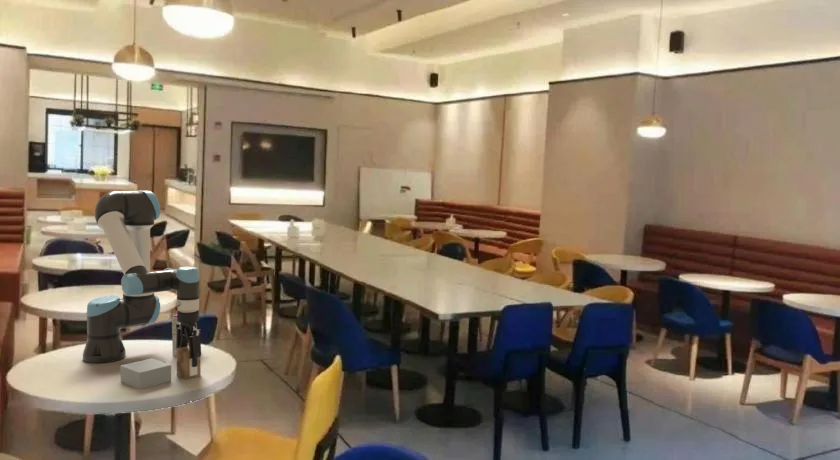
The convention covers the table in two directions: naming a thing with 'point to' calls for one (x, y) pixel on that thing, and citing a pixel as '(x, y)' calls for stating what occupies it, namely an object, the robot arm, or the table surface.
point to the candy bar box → (175, 333)
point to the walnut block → (185, 363)
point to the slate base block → (145, 373)
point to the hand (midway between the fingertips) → (188, 372)
